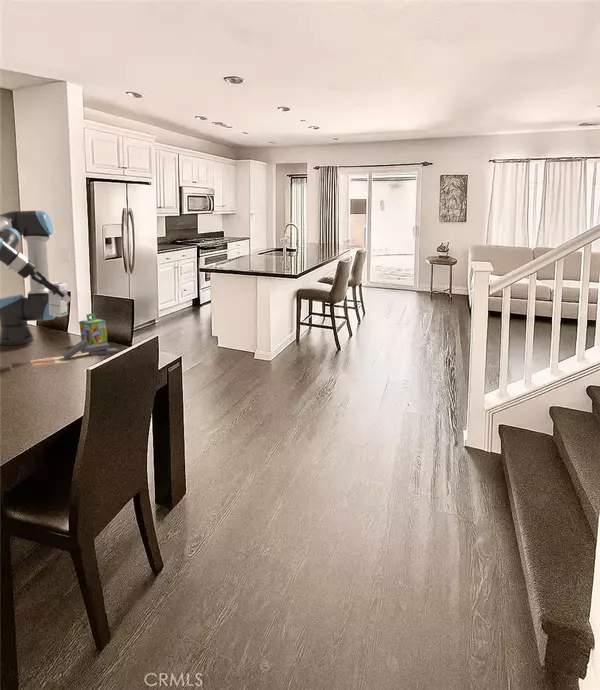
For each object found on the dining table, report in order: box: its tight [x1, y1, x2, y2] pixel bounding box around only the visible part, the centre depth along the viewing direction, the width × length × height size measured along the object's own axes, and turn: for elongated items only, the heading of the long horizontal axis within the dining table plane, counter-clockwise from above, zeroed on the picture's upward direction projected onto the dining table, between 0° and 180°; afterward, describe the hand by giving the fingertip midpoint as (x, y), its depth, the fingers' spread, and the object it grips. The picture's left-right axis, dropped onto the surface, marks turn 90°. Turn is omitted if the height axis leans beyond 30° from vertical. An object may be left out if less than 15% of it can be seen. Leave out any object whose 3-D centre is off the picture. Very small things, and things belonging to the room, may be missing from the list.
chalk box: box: [78, 313, 108, 345], centre depth 260 cm, size 9×9×15 cm
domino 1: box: [61, 338, 91, 360], centre depth 234 cm, size 5×2×12 cm
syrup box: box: [49, 281, 69, 318], centre depth 234 cm, size 6×6×14 cm
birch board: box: [30, 352, 99, 369], centre depth 233 cm, size 12×26×1 cm, turn 123°
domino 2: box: [79, 341, 111, 353], centre depth 238 cm, size 5×2×12 cm
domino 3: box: [89, 347, 119, 356], centre depth 241 cm, size 5×2×12 cm
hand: (67, 299), depth 236 cm, fingers closed on syrup box, 8 cm apart
